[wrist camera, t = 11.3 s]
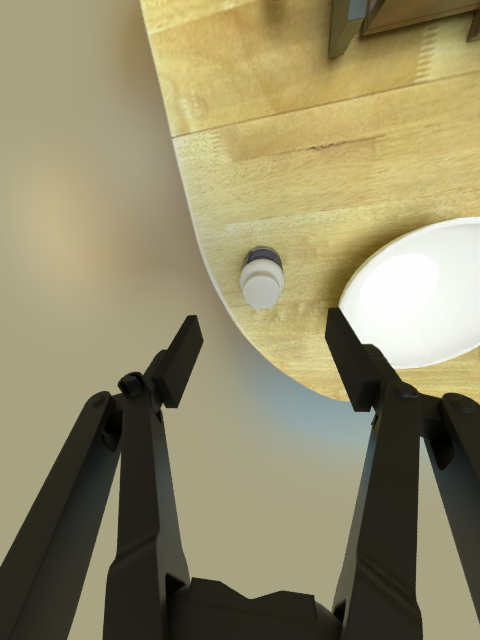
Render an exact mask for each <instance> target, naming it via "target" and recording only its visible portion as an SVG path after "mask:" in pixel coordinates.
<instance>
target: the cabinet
mask: <svg viewBox="0 0 480 640" xmlns="http://www.w3.org/2000/svg"><path fill="white" fill-rule="evenodd" d="M475 40H480V9H476V12H475V15H474V19H473V22H472V25H471V29H470V32H469V35H468V38H467V42H471V41H475Z"/></svg>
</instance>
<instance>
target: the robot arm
mask: <svg viewBox="0 0 480 640" xmlns="http://www.w3.org/2000/svg"><path fill="white" fill-rule="evenodd" d="M325 339H326V342H327V344H328V347H329V349H330V352H331V354H332V357H333V359H334V362H335V364H336V367H337V369H338V372H339V374H340V377H341V379H342V382H343V384H344V387H345V389H346V392H347V394H348V397H349V399H350V402H351V403H352V406H353V409H354V411H355V412H370V409H371V406H373V408H374V410H375V412H376V413H375V416H374V418H373V421H372V423H371V425H372V430H371V434H370V439H369V444H368V449H367V454H366V458H365V463H364V468H363V472H362V477H361V482H360V487H359V492H358V496H357V501H356V506H355V510H354V515H353V520H352V525H351V529H350V534H349V539H348V544H347V549H346V553H345V558H344V563H343V567H342V571H341V574H340V577H339V581H338V584H337V588H336V593H335V597H334V602H333V606H332V611H331V612H330V611H329V610H327V609H326V608H325V607H324V606H323V605H321V604H319V603H318V602H316V601H315V600H314V595H309V594H302V593H296V592H289V591H279V592H275V593H272V594H268V595H265V596H261V597H258V598H255V599H248V598H246V597H244V596H243V595H241V594H239V593H238V592H236V591H235V590H233V589H231V588H229V587H228V586H227V585H225V584H223V583H222V582H220V581H214V580H207V579H201V578H194V577H192V580H191V584H190V578H189V572H188V566H187V563H186V559H185V556H184V553H183V550H182V545H181V539H180V532H179V525H178V518H177V511H176V504H175V498H174V490H173V484H172V477H171V470H170V463H169V457H168V449H167V443H166V436H165V429H164V422H163V415H162V411H161V409H160V408H161V406H162V403H164V405H165V407H166V408H178V405H179V403H180V400H181V398H182V395H183V392H184V390H185V387H186V385H187V382H188V380H189V377H190V375H191V372H192V369H193V367H194V364H195V362H196V359H197V357H198V354H199V352H200V349H201V347H202V344H203V337H202V334H201V330H200V327H199V323H198V319H197V315H190V316H187V318H186V319H185V321H184V323H183V324H182V326H181V328H180V329H179V331H178V333H177V334H176V336H175V338H174V340H173V341H172V343H171V344H170V346H169V348H168V349H167V350H161V351H160V352H159V353H158V354H157V355H156V356H155V357H154V359H153V361H152V362H151V364H150V366H149V367H148V368H147V370H146V371H145V373H144V375H143V376H142V374H141V373H140V372H132V373H129V374H127V375H125V376H124V377H123V378H121V380H120V381H119V382H118V387H119V389H120V390H121V392H122V393H120V394H117V395H113V396H111V394H110V393H109V392H107V391H102V392H99V393H97V394H95V395H93V396H92V397H91V398H90V399H89V400H88V401H87V402H86V403H85V405H84V407H83V409H82V411H81V413H80V415H79V417H78V419H77V421H76V423H75V425H74V426H73V428H72V430H71V432H70V434H69V436H68V438H67V440H66V442H65V444H64V446H63V448H62V450H61V452H60V453H59V455H58V457H57V459H56V461H55V463H54V465H53V467H52V469H51V471H50V473H49V475H48V477H47V478H46V480H45V482H44V484H43V486H42V488H41V490H40V492H39V494H38V496H37V498H36V500H35V501H34V503H33V505H32V507H31V509H30V511H29V513H28V515H27V517H26V519H25V521H24V523H23V525H22V527H21V528H20V530H19V532H18V534H17V536H16V538H15V540H14V542H13V544H12V546H11V548H10V550H9V551H8V553H7V555H6V557H5V559H4V561H3V563H2V565H1V567H0V640H67V638H68V635H69V631H70V628H71V625H72V622H73V619H74V616H75V612H76V609H77V605H78V602H79V598H80V595H81V591H82V587H83V584H84V581H85V577H86V574H87V570H88V567H89V563H90V559H91V556H92V552H93V549H94V545H95V542H96V538H97V535H98V531H99V528H100V524H101V521H102V517H103V513H104V510H105V506H106V503H107V499H108V496H109V492H110V488H111V485H112V482H113V478H114V475H115V471H116V467H117V464H118V460H119V457H120V453H121V469H120V492H119V516H118V539H117V553H116V558H115V560H114V561H113V563H112V564H111V566H110V568H109V572H108V575H107V583H106V596H105V611H104V625H103V640H423V628H422V618H421V612H420V609H419V606H418V604H417V601H416V589H415V587H416V553H417V518H418V482H419V481H418V480H419V447H420V436H421V437H423V438H424V442H425V445H426V449H427V452H428V455H429V458H430V461H431V465H432V468H433V472H434V475H435V478H436V481H437V485H438V488H439V491H440V495H441V498H442V501H443V505H444V508H445V511H446V514H447V517H448V521H449V524H450V527H451V530H452V534H453V537H454V541H455V544H456V547H457V551H458V554H459V557H460V561H461V564H462V567H463V570H464V573H465V577H466V580H467V584H468V587H469V590H470V593H471V597H472V600H473V603H474V607H475V609H476V613H477V617H478V620H479V623H480V405H479V404H478V403H477V402H475V401H474V400H472V399H471V398H468V397H466V396H464V395H461V394H458V393H446V394H444V395H443V397H442V398H438V397H434V396H429V395H425V394H422V393H419V392H418V391H417V389H416V388H414V387H413V386H411V385H410V384H407V383H405V382H403V381H402V380H401V379H400V377H399V376H398V374H397V373H396V372H395V370H394V369H393V367H392V366H391V365H390V363H389V362H388V360H387V359H386V358H385V357H384V355H383V353H382V352H381V351H380V349H379V348H377V347H376V346H374V345H373V344H362V343H361V342H360V340H359V339H358V337H357V335H356V334H355V332H354V330H353V329H352V327H351V326H350V324H349V322H348V321H347V319H346V318H345V316H344V314H343V313H342V311H341V310H340V308H329V309H328V316H327V324H326V331H325Z"/></svg>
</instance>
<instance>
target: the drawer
mask: <svg viewBox="0 0 480 640" xmlns="http://www.w3.org/2000/svg"><path fill="white" fill-rule="evenodd" d="M273 1H277V0H273ZM476 9H480V0H333V11H332V24H331V37H330V51H329V57H334V56H339V55H343V54H344V52H345V50H346V49H347V47H348V45H349V44H350V42H351V40H352V39H353V37H354V35H355V34H356V32H357V30H358V29H359V27H360V25H361V24H362V22H363V20H364V19H365V20H364V28H363V36H364V35H369V34H373V33H377V32H382V31H386V30H390V29H394V28H399V27H403V26H407V25H412V24H416V23H420V22H424V21H429V20H433V19H437V18H442V17H446V16H450V15H454V14H459V13H463V12H467V11H471V10H476Z"/></svg>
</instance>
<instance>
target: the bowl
mask: <svg viewBox="0 0 480 640" xmlns="http://www.w3.org/2000/svg"><path fill="white" fill-rule="evenodd" d="M338 308H340V310H341V311H342V313H343V314H344V316H345V318H346V319H347V321H348V322H349V324H350V326H351V327H352V329H353V330H354V332H355V334H356V335H357V337H358V339H359V340H360V342H361V343H362V344H373V345H374V346H376V347H377V348H379V349H380V351H381V352H382V353H383V355H384V357H385V358H386V359H387V360H388V362H389V363H390V365H391V366H392V367H393V369H408V368H418V367H424V366H428V365H433V364H437V363H440V362H443V361H446V360H449V359H452V358H455V357H457V356H459V355H462V354H464V353H466V352H468V351H471V350H472V349H474V348H476V347H478V346H479V345H480V217H467V218H455V219H449V220H445V221H441V222H437V223H433V224H429V225H426V226H423V227H421V228H418V229H416V230H413V231H411V232H408V233H406V234H403V235H401V236H400V237H398V238H396V239H395V240H393V241H391V242H389V243H388V244H386V245H384V246H383V247H382V248H380V249H379V250H378V251H376V252H375V253H374V254H373V255H371V256H370V257H369V258H368V259H367V260H366V261H365V262H364V263H363V264H362V265H361V266H360V267H359V268H358V269H357V270H356V271H355V273H354V274H353V276H352V277H351V278H350V280H349V281H348V283H347V284H346V286H345V288H344V291H343V293H342V295H341V297H340V301H339V305H338Z"/></svg>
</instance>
